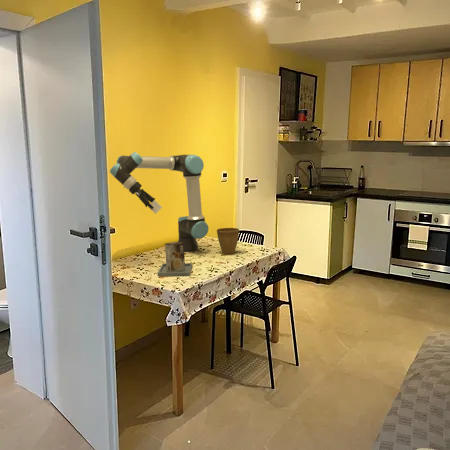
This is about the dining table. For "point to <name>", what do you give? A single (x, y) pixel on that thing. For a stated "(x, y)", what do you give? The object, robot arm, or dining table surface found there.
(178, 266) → the coffee box
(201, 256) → the dining table surface
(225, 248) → the plant pot
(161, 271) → the tray
